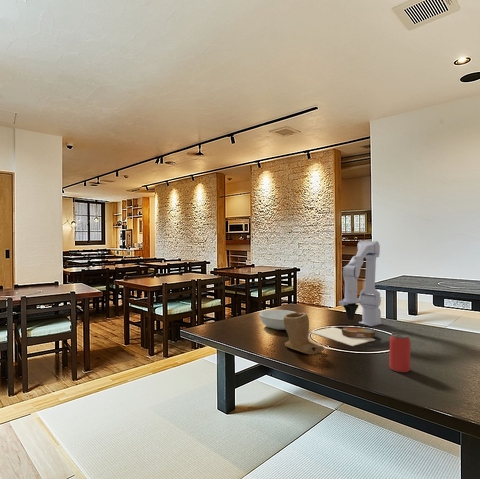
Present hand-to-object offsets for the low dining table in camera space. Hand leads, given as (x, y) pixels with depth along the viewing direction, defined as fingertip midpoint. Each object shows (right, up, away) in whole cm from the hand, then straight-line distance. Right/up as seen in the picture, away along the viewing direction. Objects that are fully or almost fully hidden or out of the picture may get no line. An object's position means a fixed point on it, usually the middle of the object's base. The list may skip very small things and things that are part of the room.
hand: (350, 319), depth 160 cm
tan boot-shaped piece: (-28, -7, -24) cm, 37 cm away
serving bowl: (-32, -7, +11) cm, 35 cm away
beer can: (+3, -8, -43) cm, 43 cm away
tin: (+3, -6, +1) cm, 6 cm away
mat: (-5, -7, -3) cm, 9 cm away
